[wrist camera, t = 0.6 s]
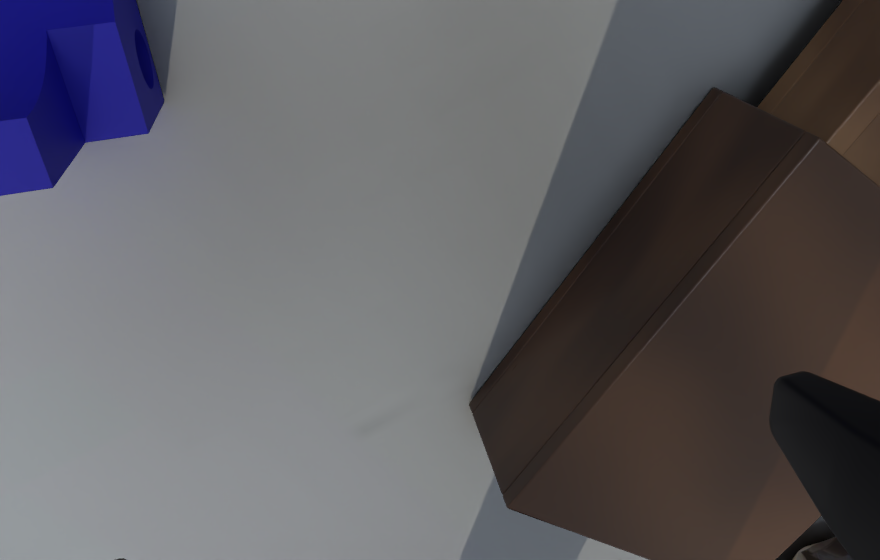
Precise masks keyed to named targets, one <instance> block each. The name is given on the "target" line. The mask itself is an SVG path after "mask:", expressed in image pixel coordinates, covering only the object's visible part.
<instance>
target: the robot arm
mask: <svg viewBox="0 0 880 560" xmlns="http://www.w3.org/2000/svg"><path fill="white" fill-rule="evenodd" d="M769 425H770V429H771V432H772V434H773V436H774V438H775V440H776V442H777V443H778V445H779V447H780V448H781V450H782V452H783V453H784V455H785V457H786V458H787V460H788V461H789V463H790V465H791V466H792V468H793V470H794V471H795V473H796V475H797V476H798V478H799V480H800V481H801V483H802V485H803V486H804V488H805V489H806V491H807V493H808V494H809V496H810V498H811V499H812V501H813V503H814V504H815V506H816V508H817V509H818V511H819V512H820V514H821V516H822V517H823V519H824V520H825V522H826V523H827V525H828V526H829V528H830V529H831V531H832V532H833V534H834V535H835V536H836V538H837V539H838V541H839V542H840V543H841V545H842V546H843V547H844V549H845V550H846V551H847V553H848V554H849V555H850V557H851V558H852V559H853V560H880V401H879V400H876V399H874V398H871V397H869V396H867V395H864V394H862V393H859V392H857V391H854V390H852V389H849V388H847V387H845V386H842V385H840V384H837V383H835V382H832V381H830V380H827V379H825V378H823V377H820V376H818V375H815V374H813V373H810V372H806V371H800V372H796V373H792V374H789V375H785V376H782V377H779V378H778V379H777V380H776V381H775V383H774V387H773V394H772V401H771V408H770V415H769ZM116 560H126V559H124V558H123V559H116Z"/></svg>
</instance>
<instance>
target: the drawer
mask: <svg viewBox="0 0 880 560" xmlns="http://www.w3.org/2000/svg"><path fill="white" fill-rule="evenodd" d="M757 108H759V109H761V110H763V111H765V112H767V113H769V114H772V115H774V116H776V117H778V118H780V119H782V120H784V121H786V122H788V123H790V124H793V125H795V126H797V127H799V128H801V129H803V130H805V131H807V132H809V133H811V134H813V135H816V136H818V137H820V138H821V139H822V140H824V141H825V142H826V143H827V144H828V145H830V146H831V147H832V148H833V149H835V150H836V151H837V152H838V153H839V154H841V155H842V156H843V157H844V158H845V159H847V160H848V161H849V162H850V163H852V164H853V165H854V166H855V167H856V168H858V169H859V170H860V171H861V172H863V173H864V174H865V175H866V176H867V177H869V178H870V179H871V180H872V181H873V182H875V183H876V184H877V185H878V186H880V0H843V1H842V2H841V3H840V5H839V6H838V7H837V8H836V10H835V11H834V12H833V13H832V15H831V16H830V17H829V18H828V20H827V21H826V22H825V23H824V25H823V26H822V27H821V28H820V30H819V31H818V32H817V33H816V35H815V36H814V37H813V38H812V40H811V41H810V42H809V43H808V45H807V46H806V47H805V48H804V49H803V51H802V52H801V53H800V54H799V56H798V57H797V58H796V59H795V61H794V62H793V63H792V64H791V66H790V67H789V68H788V69H787V71H786V72H785V73H784V74H783V76H782V77H781V78H780V79H779V81H778V82H777V83H776V84H775V86H774V87H773V88H772V89H771V91H770V92H769V93H768V94H767V96H766V97H765V98H764V99H763V101H762V102H761V103H760V104H759V106H758V107H757Z"/></svg>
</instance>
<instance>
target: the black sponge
mask: <svg viewBox="0 0 880 560" xmlns="http://www.w3.org/2000/svg"><path fill="white" fill-rule="evenodd" d="M793 560H853V559H852V558H851V557H850V555H849V554H848V553H847V551H846V550H845V549H844V547H843V546H842V545H841V543H840V542H839V541H838V539H837V538H836V537H833V538H830V539H828V540H825V541H823V542H820V543H816V544H812V545H809V546H806V547H804V548H802V549H801V550H799V551H798V552H797V554H796V555H795V557H794V558H793Z"/></svg>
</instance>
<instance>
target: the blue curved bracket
mask: <svg viewBox="0 0 880 560" xmlns="http://www.w3.org/2000/svg"><path fill="white" fill-rule="evenodd" d="M163 103H164V98H163V94H162V91H161V87H160V84H159V80H158V77H157V73H156V69H155V66H154V62H153V59H152V55H151V52H150V48H149V45H148V41H147V38H146V34H145V30H144V27H143V23H142V20H141V16H140V13H139V9H138V6H137V2H136V0H0V196H1V195H8V194H15V193H21V192H28V191H35V190H41V189H48V188H53V187H54V186H55V184H56V183H57V182H58V180H59V179H60V177H61V176H62V175H63V173H64V172H65V170H66V169H67V168H68V166H69V165H70V163H71V162H72V161H73V159H74V158H75V156H76V155H77V154H78V152H79V151H80V149H81V148H82V147H83V145H84V144H85V143H86V142H93V141H100V140H106V139H113V138H120V137H127V136H134V135H141V134H148V133H149V132H150V129H151V127H152V125H153V123H154V121H155V119H156V117H157V115H158V113H159V111H160V109H161V107H162V105H163Z"/></svg>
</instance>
